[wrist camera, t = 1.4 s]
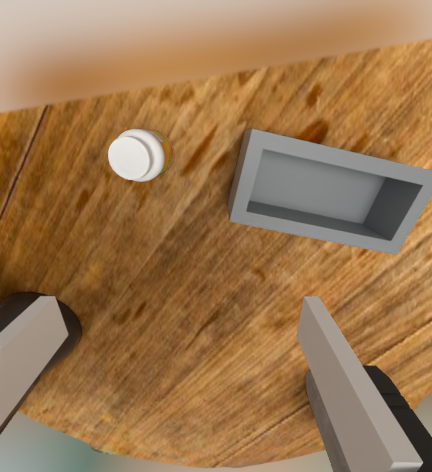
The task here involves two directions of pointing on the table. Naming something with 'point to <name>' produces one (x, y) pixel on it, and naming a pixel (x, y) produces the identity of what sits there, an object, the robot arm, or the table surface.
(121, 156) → the supplement bottle
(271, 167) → the tray
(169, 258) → the table surface
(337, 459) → the hip flask
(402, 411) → the robot arm
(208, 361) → the table surface
